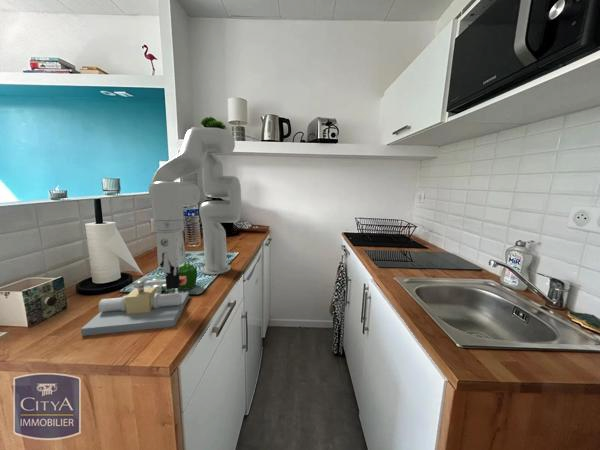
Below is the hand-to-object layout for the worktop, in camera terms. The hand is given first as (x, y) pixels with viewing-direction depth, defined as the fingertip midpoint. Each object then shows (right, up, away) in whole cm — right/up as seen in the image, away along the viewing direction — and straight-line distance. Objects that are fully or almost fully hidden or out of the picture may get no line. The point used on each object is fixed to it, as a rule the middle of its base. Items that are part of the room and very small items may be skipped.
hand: (173, 287), depth 72 cm
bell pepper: (-6, -6, +21) cm, 23 cm away
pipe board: (-10, -9, +2) cm, 14 cm away
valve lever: (-5, -1, +2) cm, 6 cm away
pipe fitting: (-15, -6, +19) cm, 25 cm away
